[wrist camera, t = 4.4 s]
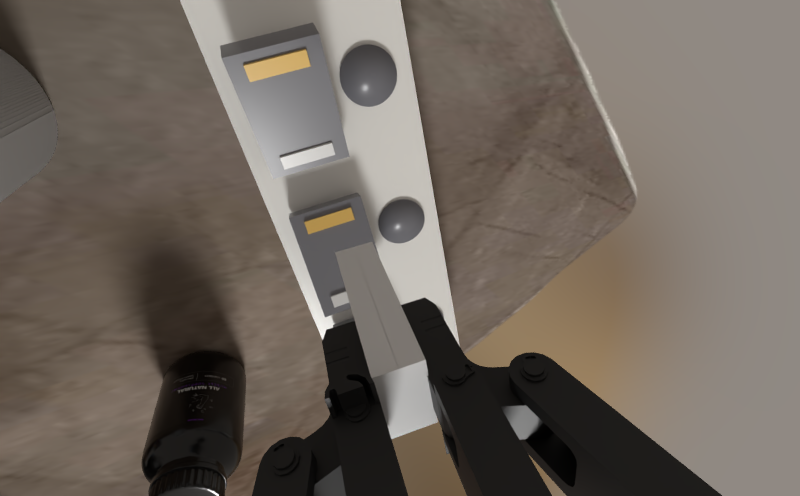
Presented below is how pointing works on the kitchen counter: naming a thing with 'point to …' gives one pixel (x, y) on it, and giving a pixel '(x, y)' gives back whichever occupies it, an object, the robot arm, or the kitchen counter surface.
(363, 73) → the power strip
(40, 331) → the kitchen counter surface
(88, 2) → the kitchen counter surface
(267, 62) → the plate
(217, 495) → the supplement bottle
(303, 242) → the rocker
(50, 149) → the cup
